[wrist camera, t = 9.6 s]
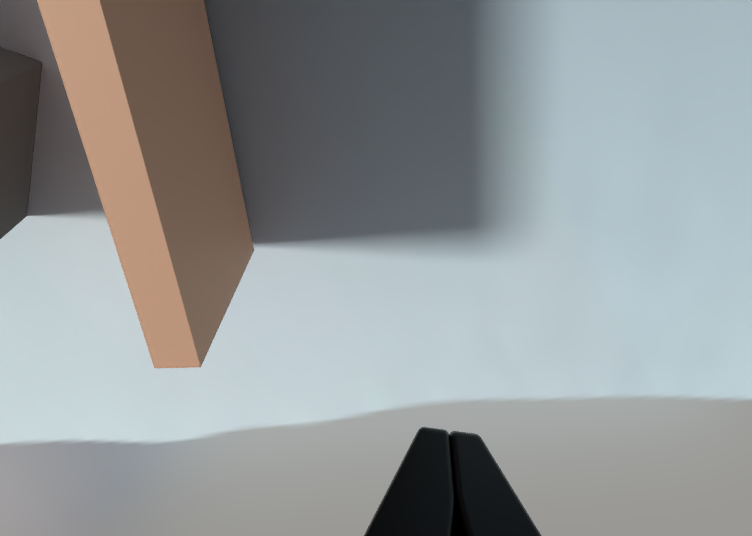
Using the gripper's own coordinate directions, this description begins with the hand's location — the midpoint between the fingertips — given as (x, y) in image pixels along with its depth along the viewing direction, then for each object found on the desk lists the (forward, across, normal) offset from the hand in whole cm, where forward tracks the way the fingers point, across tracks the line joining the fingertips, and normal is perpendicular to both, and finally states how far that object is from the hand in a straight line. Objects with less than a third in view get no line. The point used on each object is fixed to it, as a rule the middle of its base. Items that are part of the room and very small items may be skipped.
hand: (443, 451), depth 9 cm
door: (+9, +6, -3) cm, 11 cm away
